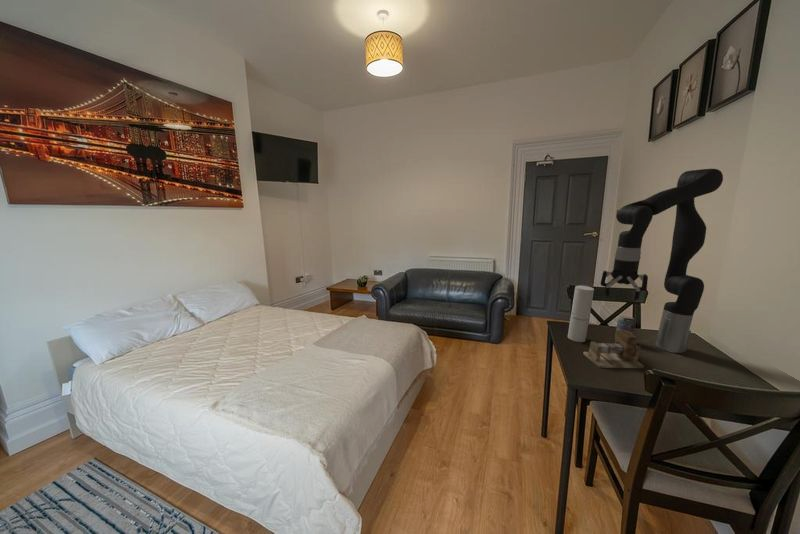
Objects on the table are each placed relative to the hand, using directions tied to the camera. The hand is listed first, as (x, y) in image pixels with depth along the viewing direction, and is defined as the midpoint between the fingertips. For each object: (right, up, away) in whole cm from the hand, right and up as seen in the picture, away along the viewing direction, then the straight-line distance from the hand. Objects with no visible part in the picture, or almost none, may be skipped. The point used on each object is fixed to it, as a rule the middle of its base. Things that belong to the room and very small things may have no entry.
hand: (620, 298), depth 112 cm
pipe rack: (-2, -26, +1) cm, 26 cm away
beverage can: (+15, -22, +18) cm, 32 cm away
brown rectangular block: (+1, -23, +1) cm, 23 cm away
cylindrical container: (-5, -21, +20) cm, 30 cm away
